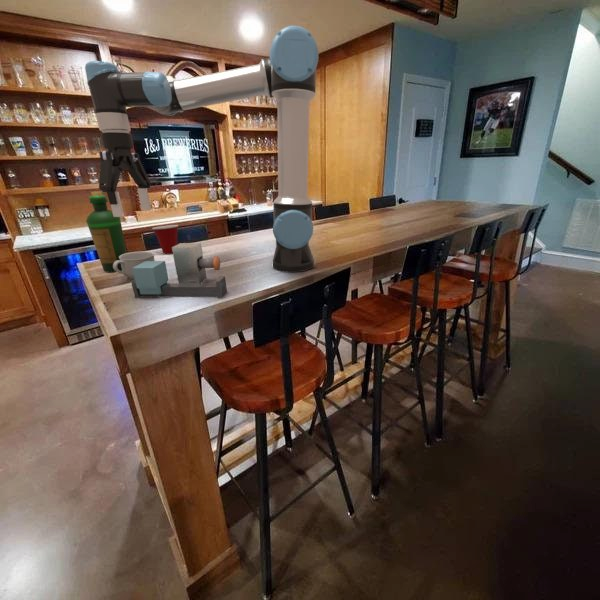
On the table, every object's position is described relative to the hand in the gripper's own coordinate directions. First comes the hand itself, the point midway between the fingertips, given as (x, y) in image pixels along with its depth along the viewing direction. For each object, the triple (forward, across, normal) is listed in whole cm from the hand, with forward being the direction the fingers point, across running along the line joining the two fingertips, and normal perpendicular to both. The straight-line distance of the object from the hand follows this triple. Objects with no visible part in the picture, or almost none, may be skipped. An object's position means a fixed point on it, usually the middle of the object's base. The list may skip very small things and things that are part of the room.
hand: (133, 213), depth 94 cm
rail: (+22, +8, +15) cm, 28 cm away
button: (+19, -4, +19) cm, 27 cm away
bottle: (+23, -16, -23) cm, 36 cm away
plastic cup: (+23, -42, -15) cm, 50 cm away
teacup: (+23, -7, -9) cm, 25 cm away
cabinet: (+22, -4, +14) cm, 26 cm away
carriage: (+21, +8, +7) cm, 24 cm away
